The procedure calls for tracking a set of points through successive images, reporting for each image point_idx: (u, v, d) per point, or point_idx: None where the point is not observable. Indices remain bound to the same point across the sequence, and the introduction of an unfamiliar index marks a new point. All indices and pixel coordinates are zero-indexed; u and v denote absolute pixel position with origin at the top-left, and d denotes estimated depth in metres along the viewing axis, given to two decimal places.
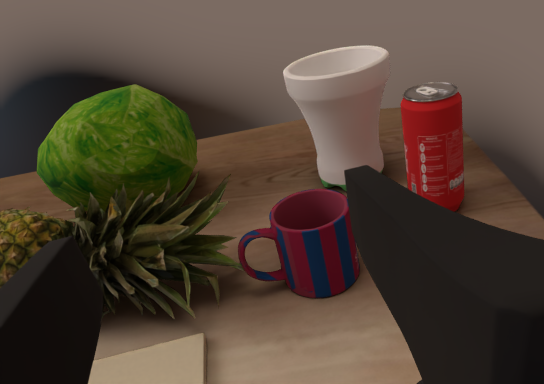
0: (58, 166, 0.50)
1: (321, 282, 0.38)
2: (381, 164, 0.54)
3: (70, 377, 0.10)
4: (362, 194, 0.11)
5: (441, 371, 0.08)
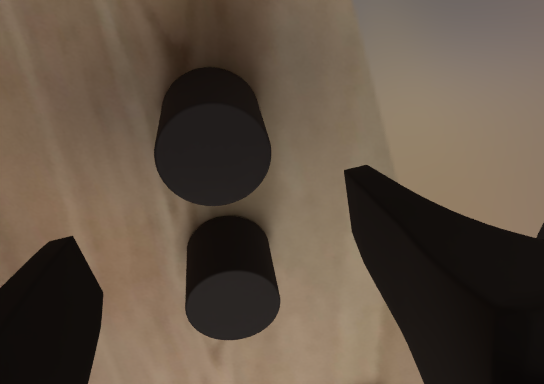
0: None
1: None
2: None
3: (70, 377, 0.10)
4: (362, 194, 0.11)
5: (441, 371, 0.08)
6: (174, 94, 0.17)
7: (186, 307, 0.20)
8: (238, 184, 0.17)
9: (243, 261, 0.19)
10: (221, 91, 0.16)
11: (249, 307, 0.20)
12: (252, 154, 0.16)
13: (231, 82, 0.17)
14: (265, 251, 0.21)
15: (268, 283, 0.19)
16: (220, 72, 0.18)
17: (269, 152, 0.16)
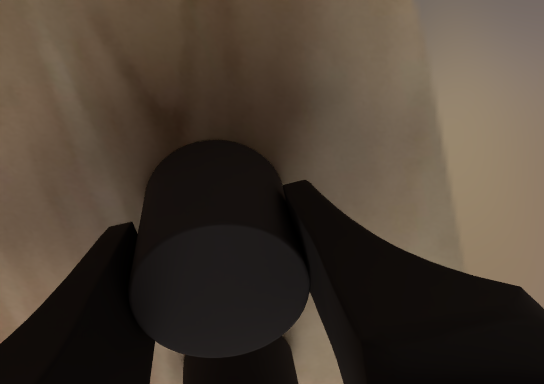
0: None
1: None
2: None
3: (138, 360, 0.10)
4: (293, 211, 0.11)
5: None
6: (161, 189, 0.11)
7: None
8: (259, 330, 0.11)
9: None
10: (233, 194, 0.10)
11: None
12: (281, 291, 0.10)
13: (246, 168, 0.12)
14: (291, 380, 0.15)
15: None
16: (230, 149, 0.12)
17: (307, 286, 0.11)
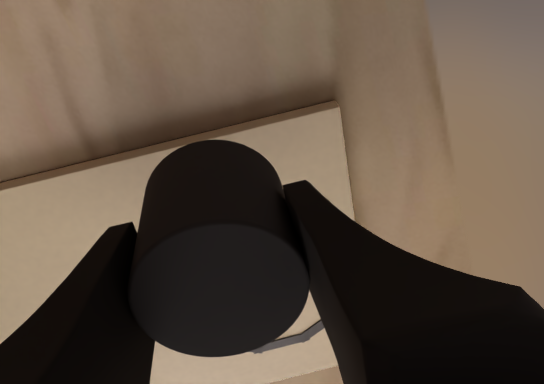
0: None
1: None
2: None
3: (138, 360, 0.10)
4: (293, 211, 0.11)
5: None
6: (160, 189, 0.11)
7: None
8: (258, 329, 0.11)
9: None
10: (233, 193, 0.10)
11: None
12: (280, 290, 0.10)
13: (246, 168, 0.12)
14: None
15: None
16: (229, 149, 0.12)
17: (307, 285, 0.11)
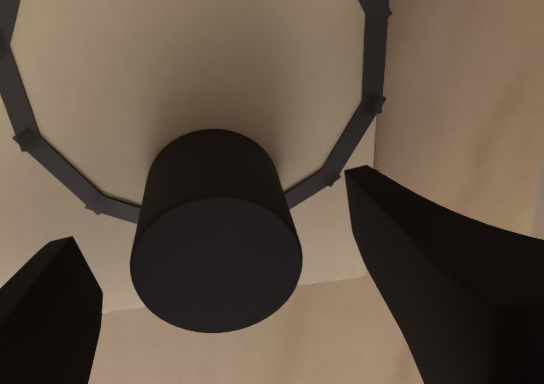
0: None
1: None
2: None
3: (70, 377, 0.10)
4: (362, 194, 0.11)
5: (441, 371, 0.08)
6: (161, 172, 0.12)
7: None
8: (254, 305, 0.12)
9: None
10: (229, 172, 0.11)
11: None
12: (275, 264, 0.11)
13: (243, 153, 0.12)
14: None
15: None
16: (227, 136, 0.13)
17: (300, 261, 0.11)
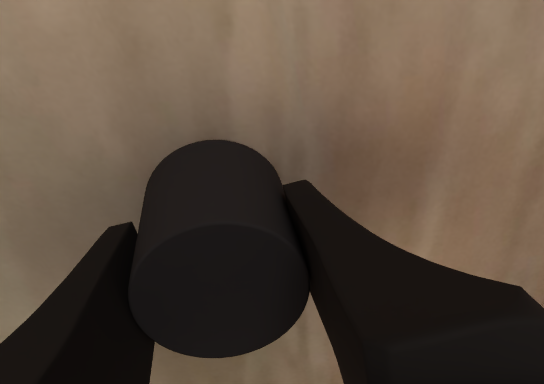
0: None
1: None
2: None
3: (137, 360, 0.10)
4: (293, 211, 0.11)
5: None
6: None
7: (307, 295, 0.11)
8: None
9: None
10: None
11: (191, 296, 0.10)
12: None
13: None
14: None
15: (158, 341, 0.11)
16: None
17: None
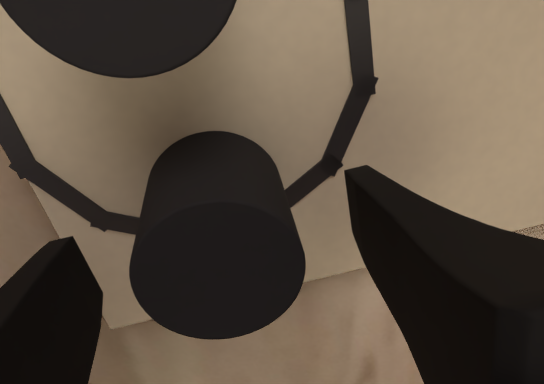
0: None
1: None
2: None
3: (70, 377, 0.10)
4: (362, 194, 0.11)
5: (441, 371, 0.08)
6: None
7: (303, 276, 0.11)
8: None
9: None
10: None
11: (190, 275, 0.11)
12: None
13: None
14: None
15: (159, 321, 0.11)
16: None
17: None
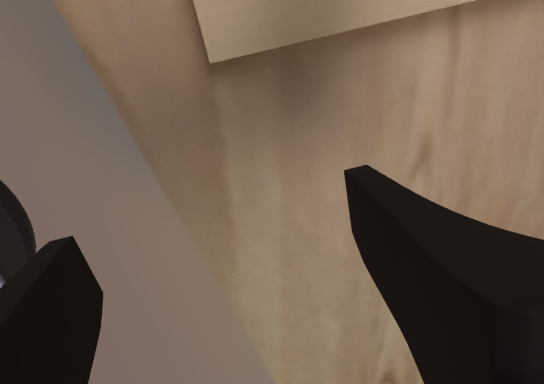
0: None
1: None
2: None
3: (70, 377, 0.10)
4: (362, 194, 0.11)
5: (441, 371, 0.08)
6: None
7: None
8: None
9: None
10: None
11: None
12: None
13: None
14: None
15: None
16: None
17: None
